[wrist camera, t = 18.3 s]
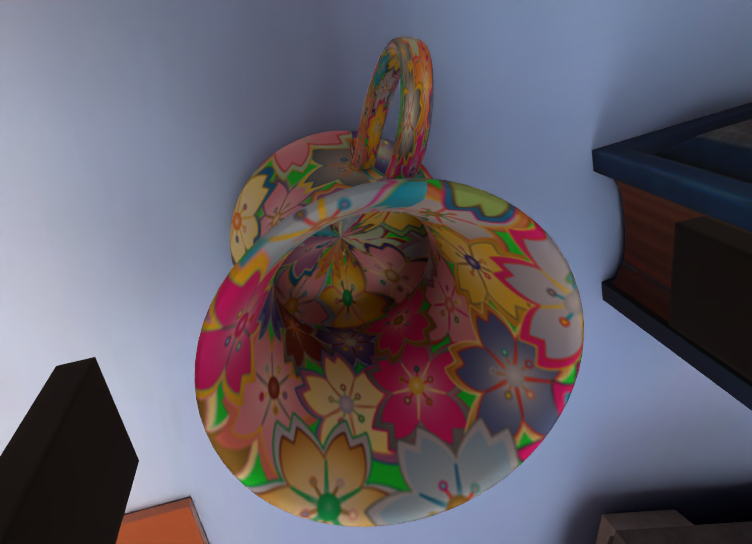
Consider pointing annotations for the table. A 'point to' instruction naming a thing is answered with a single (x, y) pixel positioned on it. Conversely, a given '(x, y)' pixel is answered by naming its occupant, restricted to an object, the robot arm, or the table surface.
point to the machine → (668, 530)
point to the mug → (382, 324)
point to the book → (677, 218)
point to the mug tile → (163, 525)
